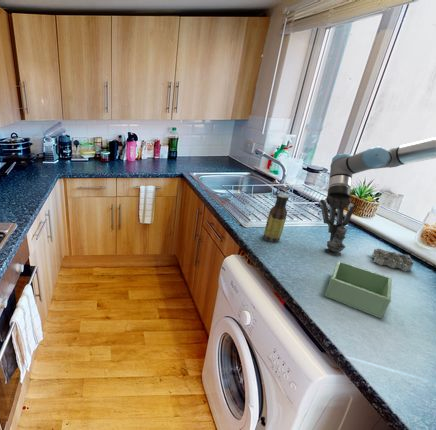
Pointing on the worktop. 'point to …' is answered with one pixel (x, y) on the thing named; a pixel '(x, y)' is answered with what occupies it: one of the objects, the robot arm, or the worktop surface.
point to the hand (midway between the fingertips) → (333, 240)
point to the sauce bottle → (276, 219)
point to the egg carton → (392, 259)
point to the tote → (360, 288)
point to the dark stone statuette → (336, 242)
